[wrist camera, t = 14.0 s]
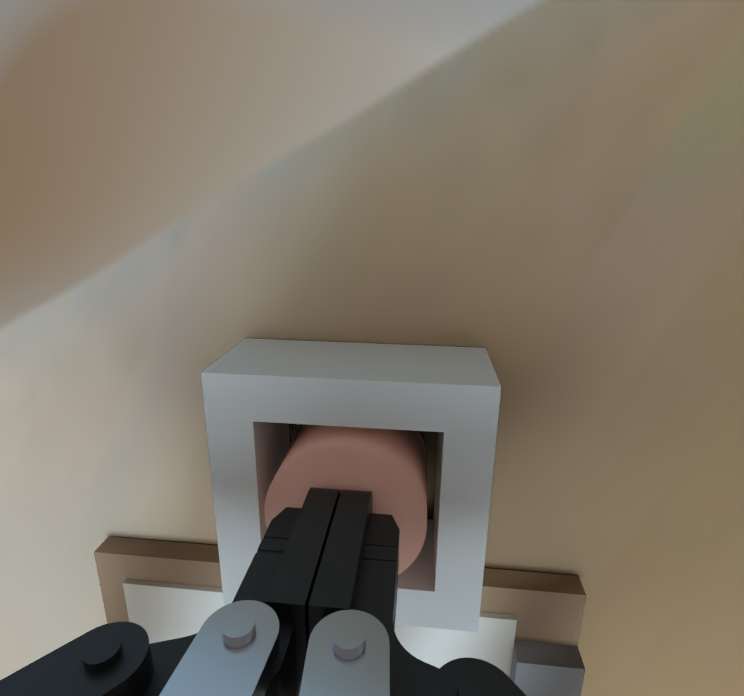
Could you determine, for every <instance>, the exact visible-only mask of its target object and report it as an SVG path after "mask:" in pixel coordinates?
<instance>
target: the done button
mask: <svg viewBox="0 0 744 696" xmlns="http://www.w3.org/2000/svg"><path fill="white" fill-rule="evenodd" d="M311 487H314V488H328V489H340V490H341V491H342V489H344V490H359V491H372V513H376V514H389V515H392V516H393V518H394V520H395V522H396V524H397V526H398V527H399V529H400V536H399V567H398V575H399V574H401V573H402V572H403V571H404V570H406V569H407V568H408V567H409V566H410V565H411V564H412V563H413V562H414V560H415V559H416V557H417V556H418V554H419V553H420V551H421V549H422V547H423V544H424V541H425V537H426V531H427V454H426V448H425V444H424V441H423V438H422V436H421V434H420V432H419V431H411V430H394V429H377V428H359V427H342V426H324V425H307V424H303V426H302V428H301V429H300V431H299V433H298V435H297V437H296V439H295V440H294V442H293V444H292V446H291V448H290V450H289V451H288V453H287V455H286V457H285V459H284V461H283V462H282V464H281V466H280V468H279V470H278V471H277V473H276V475H275V477H274V479H273V481H272V483H271V485H270V487H269V489H268V492H267V495H266V499H265V505H264V515H265V523H266V527H267V528H268V526H269V524H270V522H271V520H272V519H273V518H274V517H276V516H277V515H278V514H279V513H280V512H281V511H283V510H284V509H285V508H286V507H292V508H302V506H303V503H304V501H305V498H306V496H307V493H308V491H309V489H310V488H311Z"/></svg>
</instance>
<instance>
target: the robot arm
mask: <svg viewBox="0 0 744 696" xmlns="http://www.w3.org/2000/svg"><path fill="white" fill-rule="evenodd" d="M399 536H400V529H399V527H398V526H397V524H396V522H395V520H394V518H393V516H392V515H389V514H376V513H372V491H359V490H344V489H342V491H341V490H340V489H328V488H314V487H311V488H310V489H309V491H308V493H307V496H306V498H305V501H304V503H303V506H302V508H292V507H286V508H285V509H284V510H283V511H281V512H280V513H279V514H278V515H277V516H276V517H274V518H273V519H272V520H271V522H270V524H269V526H268V528H267V531H266V533H265V535H264V539H262V541H261V543H260V545H259V547H258V549H257V553H255V556H254V558H253V560H252V562H251V564H250V566H249V568H248V570H247V572H246V574H245V576H244V579H243V581H242V583H241V585H240V587H239V589H238V591H237V593H236V595H235V597H234V599H233V601H232V603H230V604H227V605H225V606H223V607H221V608H220V609H218V610H216V611H215V612H214V613H213V614H211V615H210V616H209V617H208V618H207V620H206V621H205V622H204V624H203V625H202V627H201V628H200V630H199V632H198V633H196V634H193V635H190V636H186V637H182V638H177V639H172V640H166V641H161V642H156V643H149V637H148V634H147V632H146V630H145V629H144V628H143V627H141V626H140V625H138V624H136V623H133V622H113V623H109V624H105V625H102V626H100V627H97V628H95V629H93V630H91V631H89V632H87V633H85V634H83V635H82V636H80V637H78V638H76V639H74V640H73V641H71V642H69V643H67V644H65V645H64V646H62V647H60V648H58V649H56V650H54V651H53V652H51V653H49V654H47V655H45V656H44V657H42V658H40V659H38V660H36V661H35V662H33V663H31V664H29V665H27V666H26V667H24V668H22V669H20V670H18V671H17V672H15V673H13V674H11V675H9V676H8V677H6V678H4V679H2V680H0V696H526V695H525V694H524V692H523V691H522V690H521V689H520V688H519V687H518V686H517V685H516V684H515V683H514V682H513V681H512V680H511V679H510V678H509V677H508V676H507V675H506V674H505V673H504V672H503V671H502V670H501V669H499V668H498V667H496V666H495V665H493V664H491V663H489V662H487V661H484V660H481V659H476V658H467V657H465V658H458V659H454V660H451V661H449V662H447V663H446V664H444V665H443V666H442V667H441V668H440V669H439V668H437V667H435V666H432V665H430V664H428V663H425V662H423V661H421V660H419V659H417V658H416V657H414V656H413V655H411V654H410V653H409V652H408V651H407V650H406V649H405V648H404V647H403V646H402V645H401V643H400V642H399V640H398V638H397V637H396V634H395V617H396V603H397V590H398V567H399Z"/></svg>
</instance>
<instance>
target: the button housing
mask: <svg viewBox="0 0 744 696" xmlns="http://www.w3.org/2000/svg"><path fill="white" fill-rule="evenodd" d="M201 380H202V390H203V400H204V410H205V420H206V430H207V440H208V450H209V460H210V470H211V480H212V490H213V500H214V510H215V520H216V530H217V540H218V550H219V561H220V571H221V581H222V591H223V601H224V606H225V605H227V604H230V603H232V601H233V599H234V597H235V595H236V593H237V591H238V589H239V587H240V585H241V583H242V581H243V579H244V576H245V574H246V572H247V570H248V568H249V566H250V564H251V562H252V560H253V558H254V556H255V553H257V549H258V547H259V545H260V543H261V541H262V539H264V535H265V533H266V531H267V527H266V523H265V515H264V505H265V499H266V495H267V492H268V489H269V487H270V485H271V483H272V481H273V479H274V477H275V475H276V473H277V471H278V470H279V468H280V466H281V464H282V462H283V461H284V459H285V457H286V455H287V453H288V451H289V450H290V441H289V423H290V424H307V425H324V426H342V427H359V428H377V429H394V430H411V431H429V432H438V442H437V460H436V478H435V496H434V514H433V520H431V519H427V531H426V537H425V541H424V544H423V547H422V549H421V551H420V553H419V554H418V556H417V557H416V559H415V560H414V562H413V563H412V564H411V565H410V566H409V567H408V568H407V569H406V570H404V571H403V572H402V573H401V574H399V575H398V590H397V603H396V617H395V624H398V625H408V626H418V627H429V628H439V629H449V630H460V631H470V632H478V627H479V616H480V606H481V595H482V585H483V574H484V564H485V553H486V543H487V532H488V521H489V511H490V500H491V490H492V479H493V469H494V458H495V448H496V437H497V426H498V416H499V405H500V395H501V385H500V383H499V380H498V378H497V375H496V373H495V370H494V368H493V365H492V363H491V360H490V357H489V355H488V352H487V350H486V348H477V347H452V346H427V345H402V344H377V343H352V342H327V341H302V340H277V339H252V338H245V339H244V340H243V341H241V342H240V343H239V344H237V345H236V346H235V347H233V348H232V349H231V350H230V351H228V352H227V353H226V354H224V355H223V356H222V357H220V358H219V359H218V360H217V361H215V362H214V363H213V364H211V365H210V366H209V367H207V368H206V369H205V370H204V371H202V372H201Z"/></svg>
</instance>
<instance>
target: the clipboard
mask: <svg viewBox="0 0 744 696" xmlns="http://www.w3.org/2000/svg"><path fill="white" fill-rule="evenodd" d="M94 555H95V560H96V565H97V570H98V576H99V581H100V586H101V591H102V597H103V602H104V607H105V612H106V618H107V623H108V624H109V623H113V622H133V623H136V624H138V625H140V626H141V627H143V628H144V629H145V630H146V632H147V634H148V637H149V643H156V642H161V641H166V640H172V639H177V638H182V637H186V636H190V635H193V634H196V633H198V632H199V630H200V628H201V627H202V625H203V624H204V622H205V621H206V620H207V618H208V617H209V616H210V615H211V614H213V613H214V612H215V611H216V610H218V609H220V608H221V607H223V606H224V601H223V591H222V581H221V571H220V561H219V550H218V546H216V545H205V544H193V543H181V542H169V541H157V540H145V539H133V538H121V537H108V538H107V539H106V540H105V541H104V542H103V543H102V544H101V545H100V546H99V547H98V548H97V549H96V551H95V552H94ZM585 599H586V594H585V591H584V589H583V586H582V584H581V581H580V579H579V576H573V575H561V574H549V573H538V572H526V571H514V570H502V569H490V568H484V574H483V585H482V595H481V606H480V616H479V627H478V632H470V631H460V630H449V629H439V628H429V627H418V626H408V625H398V624H395V634H396V637H397V638H398V640H399V642H400V643H401V645H402V646H403V647H404V648H405V649H406V650H407V651H408V652H409V653H410V654H411V655H413V656H414V657H416V658H417V659H419V660H421V661H423V662H425V663H428V664H430V665H432V666H435V667H437V668H439V669H440V668H441V667H442V666H443V665H444V664H446V663H447V662H449V661H451V660H454V659H458V658H465V657H467V658H476V659H481V660H484V661H487V662H489V663H491V664H493V665H495V666H496V667H498V668H499V669H501V670H502V671H503V672H504V673H505V674H506V675H507V676H508V677H509V678H510V679H511V680H512V681H513V682H514V683H515V684H516V685H517V686H518V687H519V688H520V689H521V690H522V691H523V692H524V694H525V695H526V696H580V695H581V689H582V684H583V678H584V673H585V667H584V665H583V662H582V659H581V656H580V653H579V650H578V647H577V645H578V639H579V633H580V628H581V622H582V616H583V610H584V604H585Z"/></svg>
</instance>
